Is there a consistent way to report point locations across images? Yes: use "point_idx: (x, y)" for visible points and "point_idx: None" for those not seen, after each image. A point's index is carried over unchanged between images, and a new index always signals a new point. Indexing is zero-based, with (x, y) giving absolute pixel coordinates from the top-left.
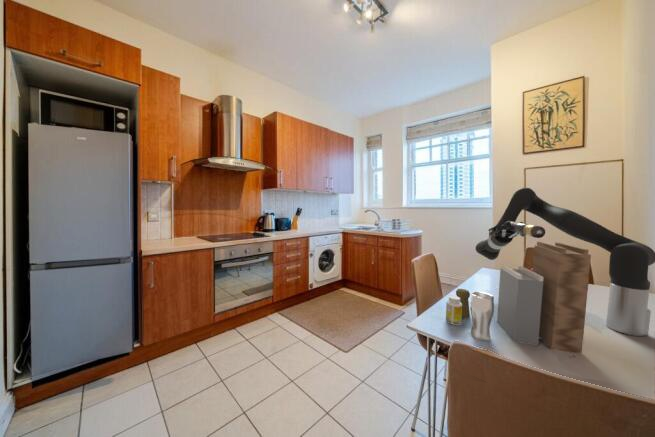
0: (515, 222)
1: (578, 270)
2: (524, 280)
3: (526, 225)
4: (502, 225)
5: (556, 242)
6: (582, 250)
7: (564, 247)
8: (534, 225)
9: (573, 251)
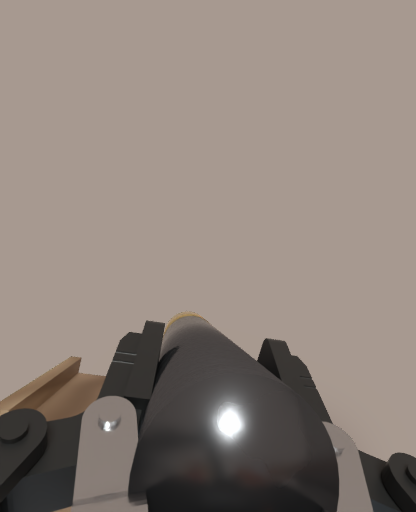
0: (220, 336)
1: None
2: None
3: (208, 322)
4: (342, 440)
5: (5, 408)
6: (77, 363)
7: (41, 397)
8: (192, 313)
9: (62, 386)
